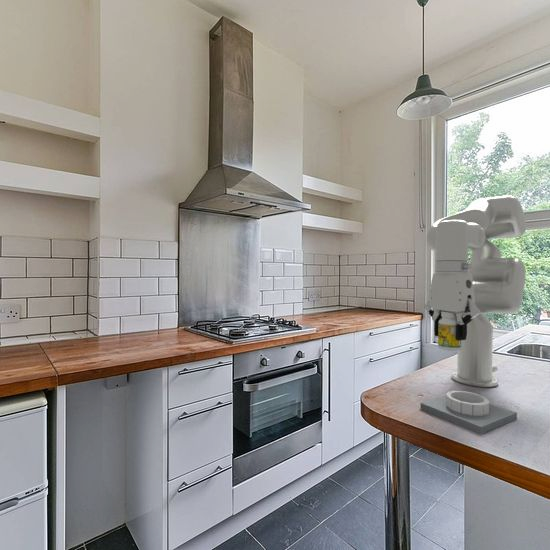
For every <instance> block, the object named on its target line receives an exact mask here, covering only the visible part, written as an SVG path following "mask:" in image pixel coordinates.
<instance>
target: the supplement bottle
mask: <svg viewBox="0 0 550 550" xmlns="http://www.w3.org/2000/svg"><path fill="white" fill-rule="evenodd" d="M441 316H442V319H440V320H439V322H438V336H437V339H438V340H437V342H438V343H437V345H438V346H437V347H438V348H439V349H441V350H446V351H456V352H458V350H461V340H460V341H458V340H456V324H459V323H458V320H457V316H456V313H454V312H445V311H442V312H441Z"/></svg>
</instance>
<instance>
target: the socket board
mask: <svg viewBox="0 0 550 550" xmlns="http://www.w3.org/2000/svg"><path fill="white" fill-rule="evenodd" d="M419 409H421V410H422V411H425V412H428V413H430V414H432V415H435V416H437V417H440V418H442V419H444V420H447V421H449V422H452V423H454V424H456V425H458V426H461V427H463V428H466V429H468V430H470V431H473V432H476V433H478V434H480V435H482V434H485V433H487V432H490V431H492V430H494V429H496V428H499V427H502V426H504V425H505V424H508V423H510V422H513V421H515V420H517V419H518V412H516V411H513V410H510V409H507V408H504V407H501V406H498V405H495V404H492V403H490V400H489V398H488V397H486V396H484V395H482V394H480V393H479V394H478V393H477V392H476V393H475V392H472V391H467V390H466V391H465V390H449V391H447V392H446V394H445V395H440V396H439V397H438V396H437V397H435V398H432V399H428V400H425V401H421V402H420V408H419Z"/></svg>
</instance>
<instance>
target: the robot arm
mask: <svg viewBox="0 0 550 550" xmlns="http://www.w3.org/2000/svg"><path fill="white" fill-rule="evenodd" d="M526 230H527V218H526V215H525V213H524V209H523V206H522V204H521V202H520V200H519V199H518V198H517V197H515V196H513V195H502V196H501V195H500V196H494V197H493V196H492V197H486V198H485V197H484V198H479V199H476V200H473V202H471V203H470V204H469V205H468V206H467V207H466V208H465V209H464V210H462V211H460V212H457V213H453V214H451V215H449V216H446V217H442V218H441V219H439V220H437V221H435V222H434V223H433V224H432V225H431V226H430V228H429V229H428V232H427V233H426V234H427V235H426V243H427V247H428V248H429V249H430V250H431V251H434V253H435V254H434V255H435V259H434V262H435V263H434V273H433V274H432V278H431V282H430V283H431V284H430V289H429V290H430V291H429V300H428V301H427V302H426V303H425V304H424V309H425V310H426V311H427V312H428V314H429V315H430V317H431V320H432V321H433V322H434V323H433V325H434V326H433V327H434V328H433V332H434V337H438V322H439V320H440V319H442V316H441V312H442V311H445V312H454V313H456V316H457V320H458V323H459V324H456V340H458V341H460V340H461V350H458V351H457V362H456V363H457V368H456V369H457V371H454V372H452V373H451V378H452V379H453V380H454V381H455V382H458V383H460V384H463V385H468V386H473V387H480V388H493V387H496V386H498V385H499V380H498V379H497V378H496V377H494V376H493V373H495V372H497V371H498V367H497V366H496V365H493V346H494V345H493V344H494V343H493V341H494V340H493V337H494V335H493V334H494V332H493V331H494V327H493V325H492V323H491V321H490V319H489V318H488V317H487V316H486V315H485V313H490V314H501V315H502V314H503V315H504V314H505V315H513V314H516V313H518V312H519V311H520V309H521V306H522V304H523V303H522V302H523V296H524V289H525V284H526V283H525V282H526V273H527V272H526V266H525V264H524V262H523V261H522V260H521V259H519V258H516V257H501V256H502V252H501V249H500V248H499V247H498V246H497V245H496V244H495V243H493V242H492V241H490V239H491V240H493V239H513V238H518V237H519V238H520V237H521V236H523V235H524V234H525V233H526ZM469 251H471V256H470V260H469ZM468 260H469V261H468Z"/></svg>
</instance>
